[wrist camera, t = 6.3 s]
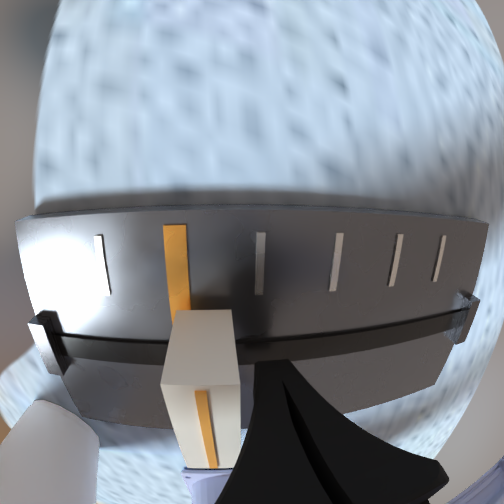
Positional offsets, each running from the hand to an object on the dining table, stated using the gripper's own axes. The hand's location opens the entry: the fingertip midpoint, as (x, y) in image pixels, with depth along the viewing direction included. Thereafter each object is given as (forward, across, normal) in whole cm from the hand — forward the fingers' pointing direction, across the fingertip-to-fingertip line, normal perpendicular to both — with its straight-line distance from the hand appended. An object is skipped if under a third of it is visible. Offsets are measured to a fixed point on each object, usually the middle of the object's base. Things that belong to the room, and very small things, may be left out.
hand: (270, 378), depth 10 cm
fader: (+1, +2, 0) cm, 3 cm away
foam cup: (+3, +15, +10) cm, 18 cm away
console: (+3, -1, 0) cm, 3 cm away
